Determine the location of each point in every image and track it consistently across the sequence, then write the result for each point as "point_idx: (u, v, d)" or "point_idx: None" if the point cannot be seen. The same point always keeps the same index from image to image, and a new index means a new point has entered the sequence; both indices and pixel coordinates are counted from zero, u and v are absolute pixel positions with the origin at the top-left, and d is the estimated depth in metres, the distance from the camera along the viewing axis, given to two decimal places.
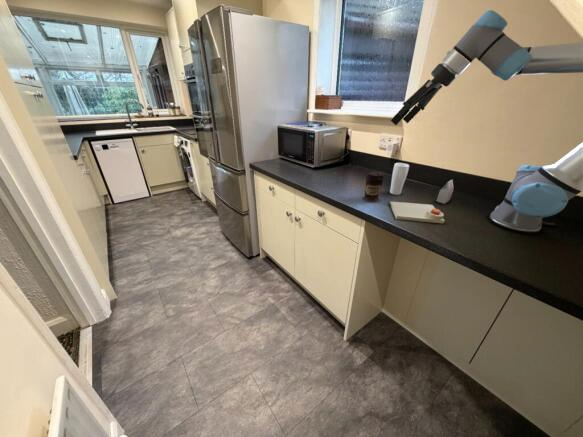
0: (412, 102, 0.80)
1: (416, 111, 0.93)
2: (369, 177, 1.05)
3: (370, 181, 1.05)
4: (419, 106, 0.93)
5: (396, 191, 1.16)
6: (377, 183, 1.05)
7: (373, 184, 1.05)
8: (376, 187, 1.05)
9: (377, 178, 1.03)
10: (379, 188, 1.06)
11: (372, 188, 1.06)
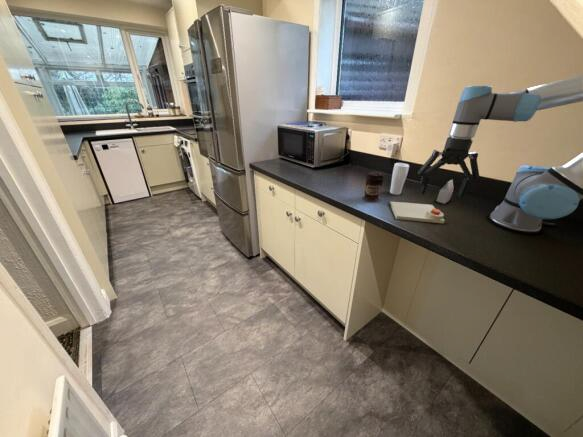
0: (421, 170, 0.87)
1: (465, 183, 0.86)
2: (369, 177, 1.05)
3: (370, 181, 1.05)
4: (468, 178, 0.86)
5: (396, 191, 1.16)
6: (377, 183, 1.05)
7: (373, 184, 1.05)
8: (376, 187, 1.05)
9: (377, 178, 1.03)
10: (379, 188, 1.06)
11: (372, 188, 1.06)
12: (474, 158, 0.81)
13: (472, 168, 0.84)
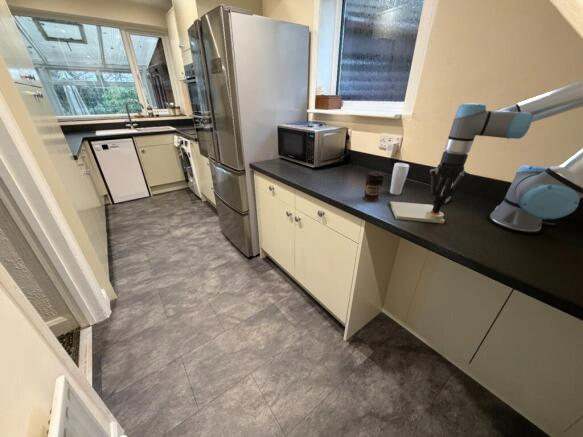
0: (432, 190, 0.89)
1: None
2: (369, 177, 1.05)
3: (370, 181, 1.05)
4: (443, 195, 0.90)
5: (396, 191, 1.16)
6: (377, 183, 1.05)
7: (373, 184, 1.05)
8: (376, 187, 1.05)
9: (377, 178, 1.03)
10: (379, 188, 1.06)
11: (372, 188, 1.06)
12: (463, 176, 0.84)
13: (453, 185, 0.88)
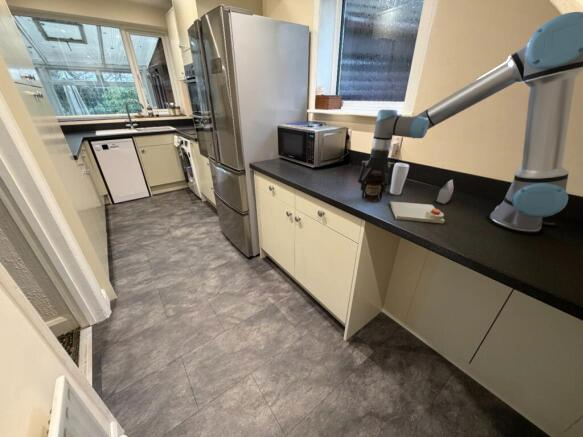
0: (358, 178, 1.08)
1: (381, 188, 1.08)
2: (369, 177, 1.05)
3: (370, 181, 1.05)
4: (383, 184, 1.08)
5: (396, 191, 1.16)
6: (377, 183, 1.05)
7: (373, 184, 1.05)
8: (376, 187, 1.05)
9: (377, 178, 1.03)
10: (379, 188, 1.06)
11: (372, 188, 1.06)
12: (391, 167, 1.03)
13: (388, 175, 1.06)
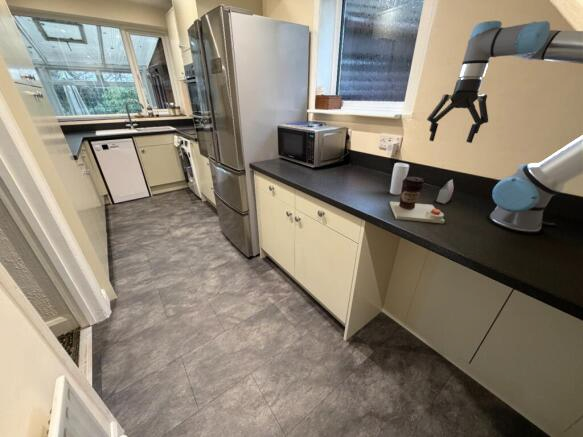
0: (431, 115, 0.88)
1: (473, 128, 0.88)
2: (407, 183, 0.95)
3: (408, 187, 0.95)
4: (476, 123, 0.87)
5: (396, 191, 1.16)
6: (416, 189, 0.94)
7: (412, 190, 0.95)
8: (415, 194, 0.95)
9: (417, 184, 0.93)
10: (418, 195, 0.96)
11: (410, 195, 0.96)
12: (483, 100, 0.83)
13: (480, 112, 0.86)
